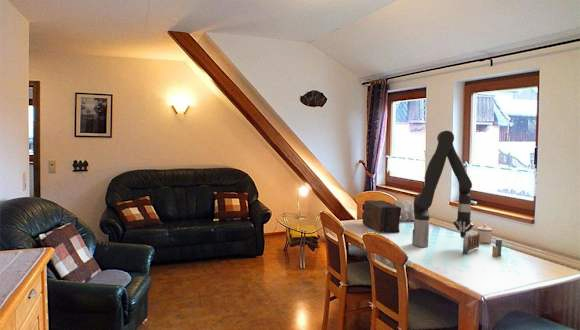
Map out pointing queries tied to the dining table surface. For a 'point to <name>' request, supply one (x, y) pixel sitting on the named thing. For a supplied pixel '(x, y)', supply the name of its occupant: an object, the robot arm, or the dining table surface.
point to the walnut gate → (473, 241)
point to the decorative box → (382, 216)
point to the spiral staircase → (406, 209)
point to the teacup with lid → (484, 234)
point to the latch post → (497, 248)
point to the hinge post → (465, 245)
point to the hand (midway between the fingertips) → (462, 237)
